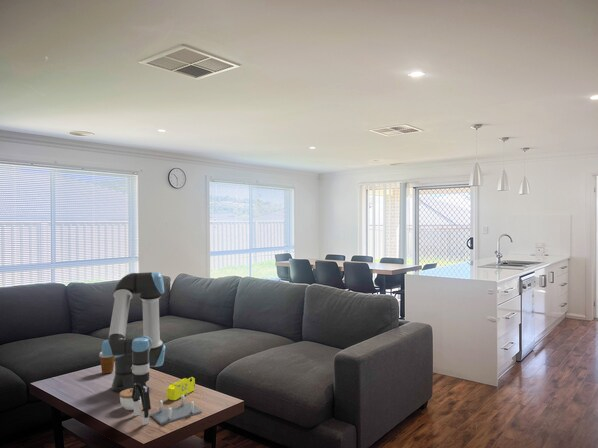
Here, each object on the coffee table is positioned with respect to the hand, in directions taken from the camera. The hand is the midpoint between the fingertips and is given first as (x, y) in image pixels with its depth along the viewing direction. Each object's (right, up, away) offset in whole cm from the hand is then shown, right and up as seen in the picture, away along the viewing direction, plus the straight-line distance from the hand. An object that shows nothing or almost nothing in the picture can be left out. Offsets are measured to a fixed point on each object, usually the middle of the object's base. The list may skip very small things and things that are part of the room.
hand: (141, 419), depth 208 cm
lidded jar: (-10, 0, +14) cm, 17 cm away
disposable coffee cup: (-44, 0, +67) cm, 80 cm away
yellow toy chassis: (+11, 0, +29) cm, 31 cm away
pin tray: (+15, 0, +5) cm, 16 cm away
